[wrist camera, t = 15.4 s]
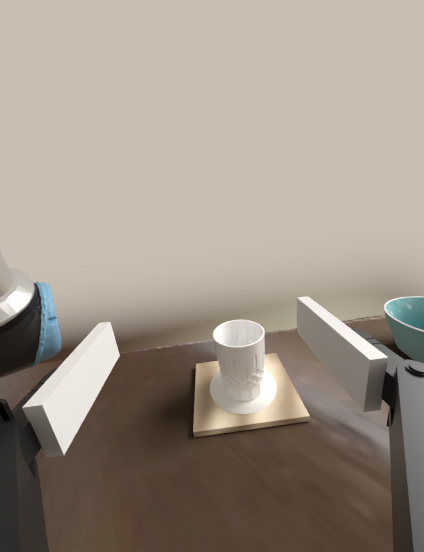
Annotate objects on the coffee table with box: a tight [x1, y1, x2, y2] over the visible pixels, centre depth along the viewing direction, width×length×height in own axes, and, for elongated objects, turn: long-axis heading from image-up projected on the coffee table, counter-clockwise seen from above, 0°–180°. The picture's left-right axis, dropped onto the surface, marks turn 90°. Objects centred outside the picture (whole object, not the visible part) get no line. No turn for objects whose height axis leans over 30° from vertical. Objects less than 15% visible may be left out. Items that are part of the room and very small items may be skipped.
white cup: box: [213, 320, 265, 401], centre depth 34 cm, size 8×8×10 cm
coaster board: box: [193, 353, 310, 437], centre depth 36 cm, size 16×14×1 cm
